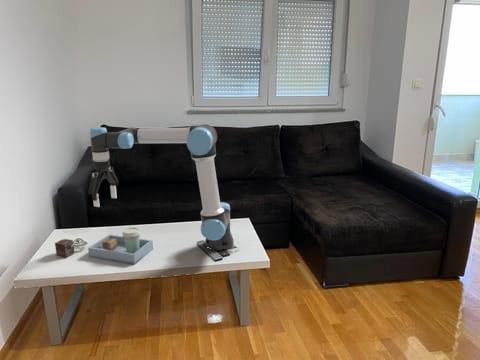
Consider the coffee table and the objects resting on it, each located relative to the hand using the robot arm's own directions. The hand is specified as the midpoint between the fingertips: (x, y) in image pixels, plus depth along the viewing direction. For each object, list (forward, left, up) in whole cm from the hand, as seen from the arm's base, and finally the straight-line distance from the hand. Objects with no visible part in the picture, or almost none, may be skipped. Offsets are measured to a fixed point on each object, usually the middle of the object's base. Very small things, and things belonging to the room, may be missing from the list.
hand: (105, 202), depth 187 cm
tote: (-7, 0, -27) cm, 27 cm away
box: (+19, +10, -27) cm, 35 cm away
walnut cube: (0, 0, -26) cm, 26 cm away
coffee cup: (-13, -1, -26) cm, 29 cm away
